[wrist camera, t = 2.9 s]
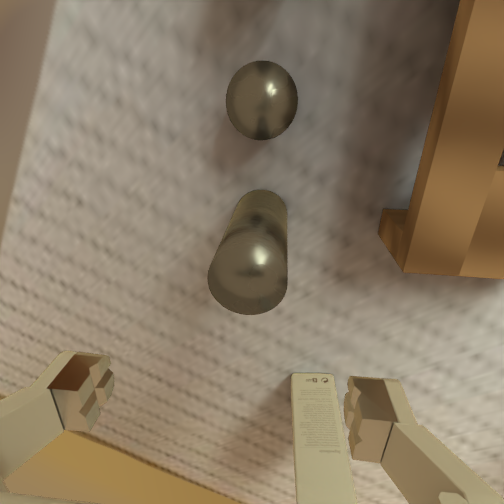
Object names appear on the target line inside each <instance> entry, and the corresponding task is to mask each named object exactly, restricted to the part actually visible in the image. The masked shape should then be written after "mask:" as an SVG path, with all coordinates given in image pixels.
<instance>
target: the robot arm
mask: <svg viewBox="0 0 504 504" xmlns="http://www.w3.org/2000/svg"><path fill="white" fill-rule="evenodd" d="M110 364H111V361H110V358H109V356H108V355H103V354H94V353H85V352H74V351H63V352H61V353H60V354H59V355H58V356H57V357H56V358H55V360H54V361H53V362H52V363H51V364H50V365H49V366H48V367H47V369H46V370H45V371H44V372H43V373H42V374H41V375H40V376H39V378H38V379H37V380H36V381H35V382H34V383H33V384H32V385H31V387H30V388H29V387H25V388H23V389H21V390H19V391H17V392H15V393H13V394H11V395H10V396H8V397H6V398H4V399H2V400H0V504H98V503H90V502H81V501H73V500H64V499H57V498H49V497H41V496H32V495H24V494H15V493H10V491H9V489H8V488H7V486H6V484H5V482H4V479H5V478H6V477H8V476H9V475H10V474H12V473H13V472H14V471H15V470H17V469H18V468H19V467H20V466H21V465H23V464H24V463H25V462H27V461H28V460H29V459H30V458H31V457H33V456H34V455H35V454H36V453H38V452H39V451H40V450H41V449H43V448H44V447H45V446H46V445H48V444H49V443H50V442H51V441H52V440H54V439H55V438H56V437H57V436H59V435H60V434H61V433H63V432H64V430H73V431H87V432H90V430H91V428H92V427H93V425H94V423H95V422H96V420H97V418H98V417H99V415H100V408H99V407H100V406H102V405H103V404H105V403H106V402H107V401H108V399H109V398H110V396H111V394H112V391H113V387H114V374H113V372H112V371H111V370H110V369H109V368H108V367H109V366H110ZM347 385H348V390H349V392H347V393H346V394H345V398H344V419H345V424H346V426H347V427H348V428H349V429H350V432H349V437H348V440H349V446H350V451H351V456H352V459H353V460H361V461H368V462H375V463H381V466H382V467H383V469H384V470H385V471H386V473H387V474H388V475H389V477H390V478H391V479H392V481H393V482H394V483H395V485H396V486H397V488H398V489H399V490H400V492H401V493H402V494H403V496H404V497H405V498H406V500H407V501H408V502H409V504H504V500H503V498H502V497H501V496H500V495H499V494H498V493H497V492H496V491H495V490H494V489H492V488H491V487H490V486H489V485H488V484H487V483H486V482H485V481H484V480H483V479H481V478H480V477H479V476H478V475H477V474H476V473H475V472H474V471H473V470H472V469H470V468H469V467H468V466H467V465H466V464H465V463H464V462H463V461H462V460H461V459H459V458H458V457H457V456H456V455H455V454H454V453H453V452H452V451H451V450H450V449H448V448H447V447H446V446H445V445H444V444H443V443H442V442H441V441H440V440H439V439H437V438H436V437H435V436H434V435H433V434H432V433H431V432H430V431H429V430H428V429H426V428H425V427H424V426H423V425H418V424H417V421H416V419H415V416H414V414H413V411H412V409H411V407H410V404H409V402H408V399H407V397H406V395H405V392H404V390H403V387H402V385H401V383H400V381H399V380H398V379H386V378H373V377H360V376H350V377H349V379H348V383H347Z"/></svg>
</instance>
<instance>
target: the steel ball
mask: <svg viewBox="0 0 504 504" xmlns="http://www.w3.org/2000/svg"><path fill="white" fill-rule="evenodd" d="M297 104H298V96H297V90H296V86H295V84H294V81H293V79H292V78H291V76H290V75H289V73H288V72H287V71H286V70H285V69H283V68H282V67H281V66H279V65H278V64H275V63H273V62H269V61H255V62H252V63H249V64H247V65H245V66H243V67H242V68H241V69H240V70H239V71H238V72H237V73H236V74H235V75H234V76H233V78H232V80H231V81H230V84H229V86H228V89H227V94H226V108H227V112H228V116H229V118H230V120H231V122H232V124H233V125H234V126H235V128H236V129H237V130H238V131H239V132H240V133H242V134H243V135H245V136H247V137H249V138H251V139H255V140H267V139H271V138H274V137H276V136H278V135H280V134H281V133H283V132H284V131H285V130H286V129H287V128H288V127H289V125H290V124H291V122H292V121H293V119H294V116H295V114H296V110H297Z"/></svg>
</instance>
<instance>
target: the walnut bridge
mask: <svg viewBox="0 0 504 504" xmlns="http://www.w3.org/2000/svg"><path fill="white" fill-rule="evenodd" d="M503 150H504V0H460V3H459V7H458V11H457V15H456V19H455V23H454V27H453V31H452V35H451V39H450V43H449V47H448V51H447V55H446V60H445V64H444V68H443V72H442V76H441V80H440V84H439V88H438V92H437V96H436V100H435V104H434V108H433V112H432V116H431V120H430V124H429V128H428V132H427V136H426V140H425V144H424V148H423V152H422V156H421V160H420V164H419V168H418V172H417V176H416V180H415V185H414V189H413V193H412V197H411V201H410V205H409V209H408V210H396V209H383V212H382V217H381V222H380V226H379V231H378V235H379V236H380V238H381V239H382V241H383V242H384V244H385V245H386V247H387V249H388V250H389V252H390V253H391V255H392V256H393V258H394V259H395V261H396V262H397V264H398V265H399V267H400V268H401V270H402V272H404V273H419V274H434V275H449V276H465V277H480V278H495V279H504V166H498V164H499V161H500V158H501V155H502V152H503Z"/></svg>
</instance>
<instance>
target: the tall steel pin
mask: <svg viewBox="0 0 504 504" xmlns="http://www.w3.org/2000/svg"><path fill="white" fill-rule="evenodd" d="M208 285H209V289H210V291H211V293H212V295H213V296H214V298H215V299H216V300H217V301H218V302H219V303H220V304H221V305H222V306H223V307H225V308H227V309H228V310H230V311H233V312H235V313H239V314H244V315H256V314H261V313H264V312H267V311H269V310H271V309H273V308H274V307H276V306H277V305H278V304H279V303H280V302H281V300H282V299H283V297H284V295H285V293H286V290H287V209H286V206H285V203H284V202H283V200H282V199H281V198H280V197H279V196H278V195H277V194H275V193H273V192H271V191H268V190H254V191H251V192H249V193H247V194H246V195H244V196H243V197H242V198H241V200H240V201H239V203H238V205H237V207H236V209H235V212H234V214H233V216H232V218H231V220H230V223H229V225H228V227H227V229H226V232H225V234H224V236H223V238H222V241H221V243H220V245H219V247H218V250H217V252H216V254H215V256H214V259H213V261H212V263H211V265H210V268H209V271H208Z"/></svg>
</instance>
